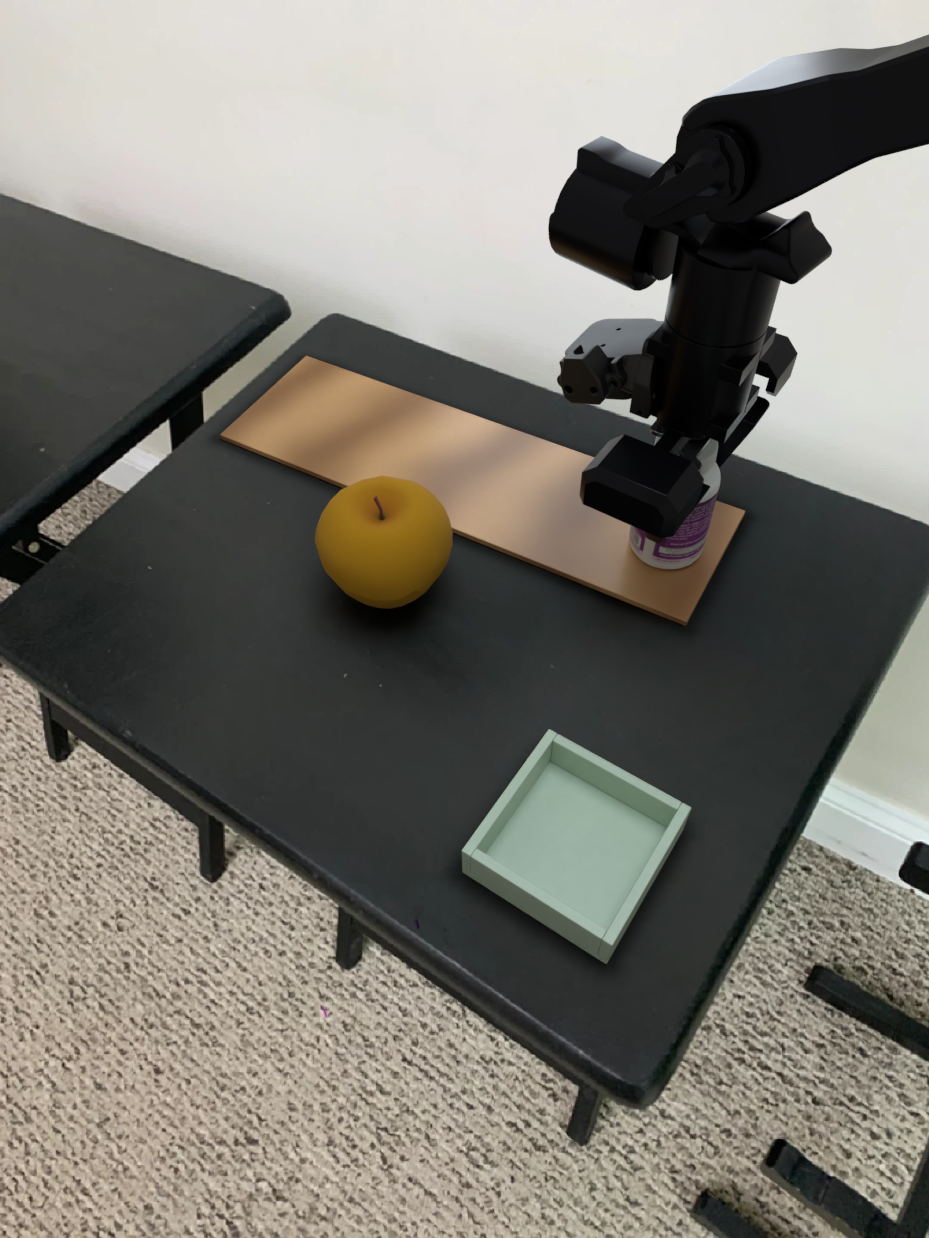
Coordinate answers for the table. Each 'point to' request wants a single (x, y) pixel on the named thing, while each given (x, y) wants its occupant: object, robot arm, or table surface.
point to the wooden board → (471, 480)
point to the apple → (384, 540)
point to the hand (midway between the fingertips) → (672, 514)
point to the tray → (575, 843)
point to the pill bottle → (693, 529)
